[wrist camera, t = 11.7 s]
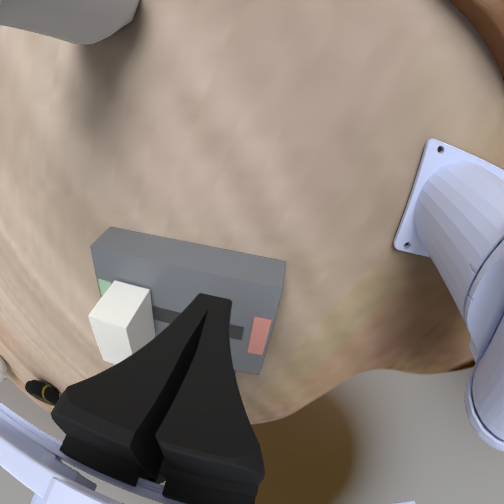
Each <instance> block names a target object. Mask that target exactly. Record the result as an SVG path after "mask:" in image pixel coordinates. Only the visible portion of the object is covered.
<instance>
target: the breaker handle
mask: <svg viewBox="0 0 504 504" xmlns="http://www.w3.org/2000/svg"><path fill="white" fill-rule="evenodd" d="M88 317H89V320H90V324H91V327H92V330H93V333H94V335H95V338H96V341H97V344H98V347H99V349H100V352H101V355H102V357H103V360H105V361H107V362H110V363H113V364H115V365H116V364H118V363H119V362H121V361H123V360H124V359H126V358H127V357H129V356H131V355H132V354H134V353H135V352H136V351H138V350H139V349H141V348H142V347H143V346H145V345H146V344H147V343H149V342H150V341H151V340H152V339H154V337H155V328H154V320H153V313H152V304H151V295H150V289H146V288H142V287H138V286H134V285H130V284H127V283H123V282H119V281H116V280H115V281H114V282H113V283H112V284H111V286H110V287H109V288H108V290H107V291H106V292H105V294H104V295H103V296H102V297H101V299H100V300H99V301H98V303H97V304H96V305H95V307H94V308H93V310H92V311H91V312H90V314H89V315H88Z"/></svg>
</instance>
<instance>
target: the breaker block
mask: <svg viewBox="0 0 504 504" xmlns="http://www.w3.org/2000/svg"><path fill="white" fill-rule="evenodd" d="M90 247H91V252H92V258H93V263H94V268H95V273H96V277H97V282H98V286H99V291H100V295H101V297H102V296H103V295H104V294H105V292H106V291H107V290H108V288H109V287H110V286H111V284H112V283H113V282H114V281H115V280H116V281H119V282H123V283H127V284H130V285H134V286H138V287H142V288H146V289H150V295H151V304H152V313H153V320H154V328H155V337H156V336H157V335H158V334H159V333H161V332H162V331H163V330H164V329H165V328H166V327H167V326H168V325H169V324H170V323H171V322H173V321H174V320H175V319H176V318H177V317H178V316H179V315H180V314H181V313H182V312H183V310H184V309H185V308H186V307H187V306H188V305H189V304H190V303H191V302H192V301H193V299H194V298H195V297H196V296H197V295H198V294H199V293H203V294H208V295H212V296H217V297H222V298H226V299H230V300H231V301H232V309H231V317H230V326H229V337H230V349H231V356H232V363H233V368H234V370H236V371H241V372H246V373H251V374H256V375H260V371H261V368H262V364H263V360H264V357H265V353H266V350H267V346H268V342H269V339H270V335H271V331H272V327H273V324H274V320H275V316H276V312H277V308H278V305H279V301H280V297H281V293H282V289H283V282H284V273H285V263H286V261H282V260H276V259H271V258H266V257H261V256H256V255H251V254H246V253H241V252H235V251H230V250H225V249H220V248H215V247H210V246H205V245H200V244H195V243H190V242H185V241H180V240H174V239H169V238H164V237H159V236H154V235H149V234H144V233H139V232H134V231H129V230H124V229H119V228H114V227H110V228H109V229H108V230H106V231H105V232H104V233H103V234H102V235H101V236H100V237H99V238H98V239H97V240H96V241H95V242H94V243H93V244H92V245H91V246H90ZM155 337H154V338H155Z"/></svg>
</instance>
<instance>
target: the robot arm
mask: <svg viewBox="0 0 504 504" xmlns="http://www.w3.org/2000/svg"><path fill="white" fill-rule="evenodd" d="M439 146H441V147H442V150H441V152H438V151H437V148H438V147H439ZM407 242H409V244H408V245H407V246H404V244H405V243H407ZM393 244H394V246H395V248H396V249H397V250H400V251H405V252H409V253H413V254H417V255H422V256H426V257H430V258H431V259H432V261H433V262H434V264H435V266H436V268H437V269H438V271H439V273H440V275H441V277H442V278H443V280H444V282H445V284H446V286H447V288H448V290H449V292H450V294H451V295H452V297H453V299H454V301H455V303H456V305H457V307H458V309H459V312H460V314H461V316H462V318H463V320H464V322H465V324H466V326H467V329H468V331H469V333H470V335H471V341H470V344H469V348H470V350H471V353H472V355H473V358H474V360H475V363H476V364H475V366H474V368H473V369H472V371H471V373H470V375H469V378H468V380H467V384H466V389H465V406H466V411H467V415H468V418H469V421H470V423H471V425H472V427H473V429H474V430H475V432H476V433H477V435H478V436H479V437H480V438H481V439H482V440H483V441H484V442H485V443H487V444H488V445H489V446H491V447H493V448H495V449H497V450H500V451H504V170H503V169H501V168H499V167H497V166H495V165H493V164H491V163H489V162H487V161H485V160H483V159H480V158H478V157H476V156H474V155H472V154H470V153H467V152H465V151H463V150H461V149H458V148H456V147H454V146H451V145H449V144H446V143H444V142H441V141H439V140H436V139H433V138H431V139H429V140H428V141H427V142H426V145H425V148H424V152H423V155H422V159H421V162H420V166H419V169H418V172H417V176H416V179H415V182H414V185H413V188H412V191H411V194H410V197H409V200H408V203H407V206H406V209H405V212H404V214H403V217H402V220H401V223H400V225H399V228H398V231H397V233H396V236H395V238H394V242H393ZM231 309H232V301H231V300H230V299H226V298H222V297H217V296H212V295H208V294H203V293H199V294H198V295H197V296H196V297H195V298H194V299H193V301H192V302H191V303H190V304H189V305H188V306H187V307H186V308H185V309H184V310H183V312H182V313H181V314H180V315H179V316H178V317H177V318H176V319H175V320H174V321H173V322H171V323H170V324H169V325H168V326H167V327H166V328H165V329H164V330H163V331H162V332H161V333H159V334H158V335H157V336H156V337H155V338H154V339H152V340H151V341H150V342H149V343H147V344H146V345H145V346H143V347H142V348H141V349H139V350H138V351H136V352H135V353H134V354H132V355H131V356H129V357H127V358H126V359H124V360H123V361H121V362H119V363H118V364H116V365H114V366H113V367H111V368H109V369H107V370H105V371H103V372H101V373H99V374H97V375H95V376H93V377H91V378H88V379H86V380H83V381H81V382H78V383H76V384H73V385H70V386H68V387H67V388H66V390H65V391H64V392H63V393H62V395H61V396H60V398H59V400H58V401H57V403H56V405H55V407H54V408H53V410H52V412H51V416H52V419H53V420H54V421H55V423H56V424H57V425H58V426H59V427H60V428H61V429H62V430H63V431H64V433H65V434H66V437H65V439H64V441H63V443H62V442H61V441H59V440H57V439H55V438H53V437H51V436H50V435H48V434H47V433H45V432H43V431H42V430H40V429H38V428H37V427H35V426H34V425H32V424H31V423H29V422H28V421H26V420H24V419H23V418H22V417H20V416H19V415H17V414H16V413H14V412H13V411H11V410H10V409H9V408H7V407H6V406H5V405H3V404H2V403H1V402H0V465H1V466H2V467H3V468H4V469H5V470H7V471H8V472H9V473H10V474H11V475H13V476H14V477H15V478H16V479H18V480H19V481H20V482H21V483H23V484H24V485H25V486H27V487H28V488H30V489H31V490H32V491H33V492H35V494H34V497H33V499H32V501H31V504H123V503H120V502H118V501H115V500H113V499H111V498H109V497H106V496H104V495H102V494H100V493H98V492H95V489H96V487H97V486H96V484H95V483H93V482H91V481H90V480H88V479H86V478H85V477H83V476H82V475H81V474H80V473H78V472H77V471H75V470H73V469H72V468H70V467H68V466H67V465H65V464H63V463H62V461H61V459H62V460H63V461H65V462H67V463H69V464H71V465H73V466H74V467H76V468H78V469H80V470H82V471H84V472H86V473H88V474H91V475H92V476H95V477H97V478H99V479H101V480H103V481H106V482H108V483H110V484H112V485H115V486H117V487H119V488H122V489H124V490H127V491H129V492H132V493H135V494H137V495H140V496H143V497H146V498H149V499H152V500H155V501H158V502H161V503H164V504H254V503H255V497H256V496H257V492H258V486H259V484H260V483H261V482H262V481H263V480H264V476H265V475H264V474H265V469H264V463H263V458H262V454H261V450H260V445H259V443H258V440H257V438H256V436H255V434H254V432H253V429H252V427H251V425H250V422H249V419H248V417H247V414H246V412H245V408H244V405H243V402H242V399H241V396H240V393H239V389H238V386H237V382H236V378H235V373H234V368H233V363H232V356H231V349H230V337H229V326H230V317H231ZM164 481H166V483H165V486H163V485H160V483H163V482H164ZM391 504H416V502H415V501H414V500H412V501H406V502H399V503H391Z"/></svg>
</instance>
